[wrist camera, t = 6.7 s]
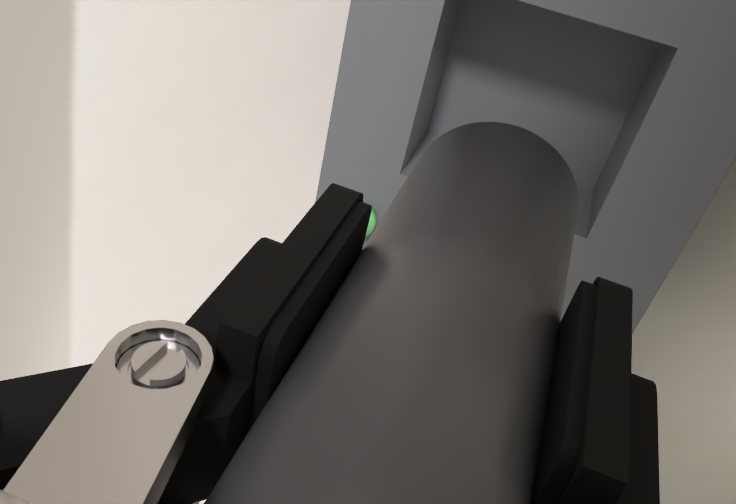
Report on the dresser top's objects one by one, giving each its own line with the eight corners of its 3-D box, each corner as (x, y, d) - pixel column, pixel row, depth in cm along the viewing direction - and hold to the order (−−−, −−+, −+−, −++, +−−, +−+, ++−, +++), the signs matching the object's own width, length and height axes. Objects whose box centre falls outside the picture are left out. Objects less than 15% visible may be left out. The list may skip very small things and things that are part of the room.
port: (434, -210, 18) (382, -209, 14) (833, -107, 16) (883, -78, 13) (351, 181, 25) (304, 245, 22) (624, 277, 24) (620, 362, 20)
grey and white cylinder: (428, 89, 14) (-26, 702, 5) (616, 151, 13) (551, 1000, 4) (387, 241, 16) (30, 860, 7) (547, 299, 16) (401, 1062, 6)
